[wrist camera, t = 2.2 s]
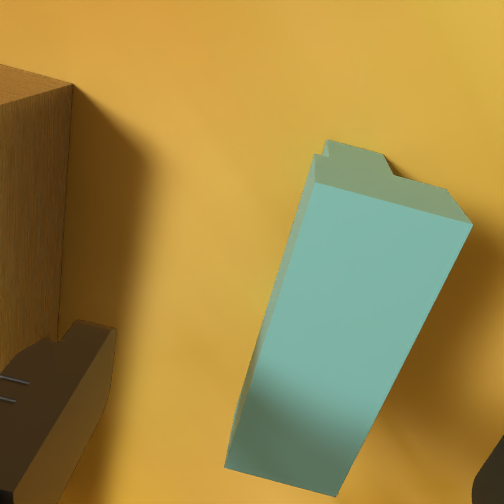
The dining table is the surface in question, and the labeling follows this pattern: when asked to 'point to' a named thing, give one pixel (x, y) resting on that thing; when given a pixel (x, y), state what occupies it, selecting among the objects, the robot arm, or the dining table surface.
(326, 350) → the teal rectangular prism
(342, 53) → the dining table surface
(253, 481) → the dining table surface
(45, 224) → the rectangular board
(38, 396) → the robot arm
